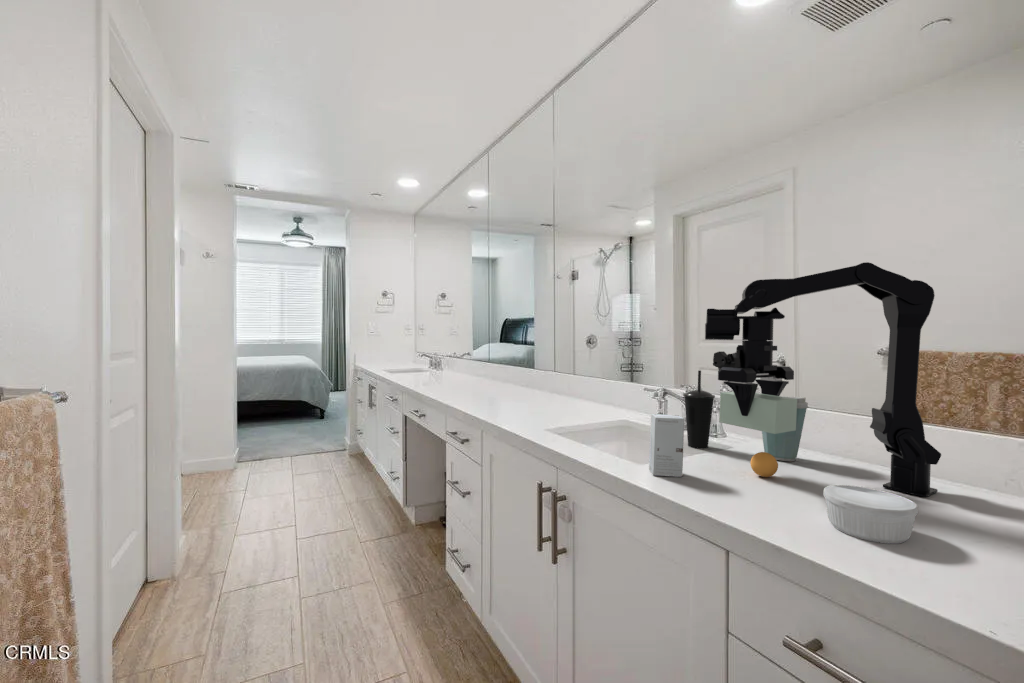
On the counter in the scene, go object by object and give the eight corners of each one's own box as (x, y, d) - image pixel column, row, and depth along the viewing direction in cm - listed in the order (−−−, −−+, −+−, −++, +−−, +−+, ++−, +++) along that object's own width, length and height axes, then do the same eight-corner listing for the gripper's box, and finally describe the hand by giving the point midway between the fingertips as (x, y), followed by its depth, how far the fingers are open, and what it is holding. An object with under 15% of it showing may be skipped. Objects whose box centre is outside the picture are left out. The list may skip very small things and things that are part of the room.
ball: (771, 446, 95) (787, 468, 93) (752, 457, 98) (767, 479, 96) (760, 449, 92) (777, 471, 90) (741, 460, 95) (756, 482, 93)
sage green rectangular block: (740, 419, 103) (741, 390, 103) (795, 430, 93) (797, 398, 93) (719, 422, 99) (720, 392, 99) (775, 433, 89) (776, 400, 89)
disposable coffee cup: (748, 457, 109) (750, 395, 109) (765, 450, 117) (766, 391, 117) (799, 467, 102) (800, 400, 101) (813, 458, 109) (814, 396, 109)
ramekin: (889, 520, 72) (890, 487, 72) (937, 552, 61) (938, 514, 61) (810, 513, 75) (811, 481, 75) (843, 543, 64) (844, 505, 64)
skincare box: (653, 476, 93) (654, 417, 93) (648, 469, 97) (649, 413, 97) (684, 477, 93) (685, 418, 92) (677, 470, 97) (678, 414, 97)
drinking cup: (717, 451, 115) (718, 372, 115) (685, 449, 116) (686, 371, 116) (710, 444, 122) (711, 370, 122) (680, 442, 124) (681, 369, 124)
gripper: (746, 340, 108) (744, 406, 108) (696, 339, 98) (694, 411, 98) (795, 341, 98) (794, 413, 98) (745, 340, 88) (744, 420, 89)
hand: (755, 414), depth 96 cm, fingers closed on sage green rectangular block, 8 cm apart
